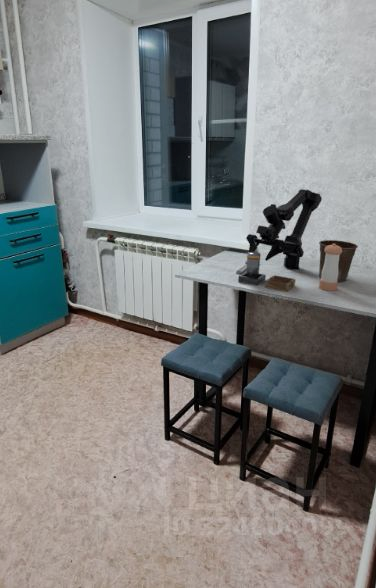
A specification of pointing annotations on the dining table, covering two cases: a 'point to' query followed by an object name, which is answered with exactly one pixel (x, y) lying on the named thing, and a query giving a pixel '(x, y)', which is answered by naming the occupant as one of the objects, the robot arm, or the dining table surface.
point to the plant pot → (344, 257)
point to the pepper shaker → (330, 268)
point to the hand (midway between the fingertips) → (257, 258)
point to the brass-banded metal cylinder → (253, 264)
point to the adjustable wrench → (242, 269)
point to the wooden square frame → (280, 283)
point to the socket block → (251, 279)
